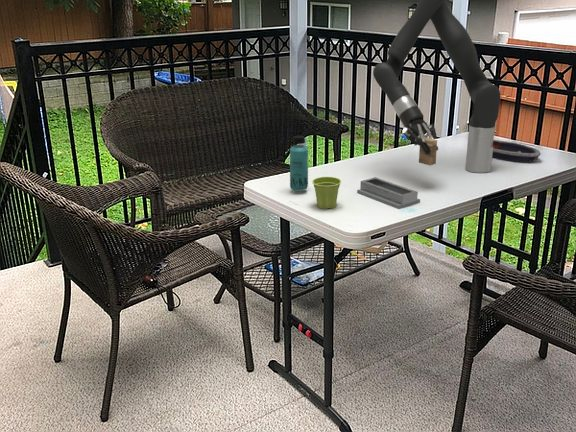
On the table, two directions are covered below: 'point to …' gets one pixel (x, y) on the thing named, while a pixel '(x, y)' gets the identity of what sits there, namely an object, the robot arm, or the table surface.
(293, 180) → the beverage bottle
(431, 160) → the brown rectangular block
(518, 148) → the dish
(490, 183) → the table surface
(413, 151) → the table surface
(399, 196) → the grey rectangular tray
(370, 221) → the table surface
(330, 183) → the plant pot
